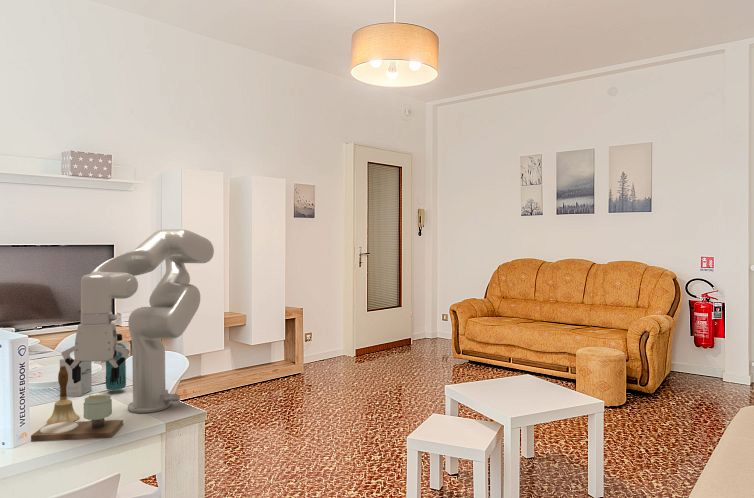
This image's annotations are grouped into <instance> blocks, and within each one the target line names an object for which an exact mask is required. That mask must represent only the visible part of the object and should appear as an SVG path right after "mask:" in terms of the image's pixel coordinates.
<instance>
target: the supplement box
mask: <svg viewBox="0 0 754 498" xmlns="http://www.w3.org/2000/svg"><path fill="white" fill-rule="evenodd" d="M70 357H71V358H72V359H73V360H74V361H75V357H74V354H70ZM61 366H66V369H67V372H68V383H67V386H66V392H67V397H82V396H83V395H85V394H86V393H88V392H90V391H92V389H93V388H92V387H93V386H92V385H93V384H92V382H93V381H92V368H93V367H92V362H81V363H80V364H79V366H80V367H81V381H79V382H77V383H74V380H72V369H71V368H70V366H69V365H68V364H67V363H66V362H65V359H64V358H63V357H62V358H60V359H59V368H60V367H61Z"/></svg>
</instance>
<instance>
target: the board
mask: <svg viewBox="0 0 754 498" xmlns="http://www.w3.org/2000/svg"><path fill="white" fill-rule="evenodd" d="M104 421H105V426H104V427H102V428H97V429H93V428H92V421H91V420H87V421H85V420H83V421H75V422H55V423H47V422H46V424H45V425H43V426H42V427H40V428H39V429H38V430H36V431H35V432H34V433H32V434H31V435H30V442H42V441H43V442H44V441H45V442H46V441H47V442H49V441H66V440H67V441H69V440H90V439H89V438H95V439H111V438H112V437H113V436H114V435H115V434H116V433H117V432H118V431H120V429H121V428H122V427H123V426H122V425H124V419H111V420H110V419H109V420H108V419H107V420H106V419H104ZM121 426H122V427H121ZM120 427H121V428H120ZM119 428H120V429H119Z"/></svg>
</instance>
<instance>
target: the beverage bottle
mask: <svg viewBox="0 0 754 498" xmlns="http://www.w3.org/2000/svg"><path fill="white" fill-rule="evenodd" d="M120 341H123V335H122V333H117V342H118V345H119V346H121V347H123V348H126V347H127V346H126V345H124V343H121V342H120ZM126 349H127V348H126ZM121 357H122V353H121V352H118V355H117V357H116V358H117V359H118V360H119V359H120V358H121ZM126 360H127V359H126ZM126 360H125V361H124V362H123V363H122V364H121V365H120V366H119V378H118V380H117V381H116V382H114V383H112V382H111V368H113V366H112V365H111V363H110V362H109V361H105V388H106V390H109V391H116V390H121V389H125V388H126V387H127V386H126V385H127V365H126V362H127V361H126Z"/></svg>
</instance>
